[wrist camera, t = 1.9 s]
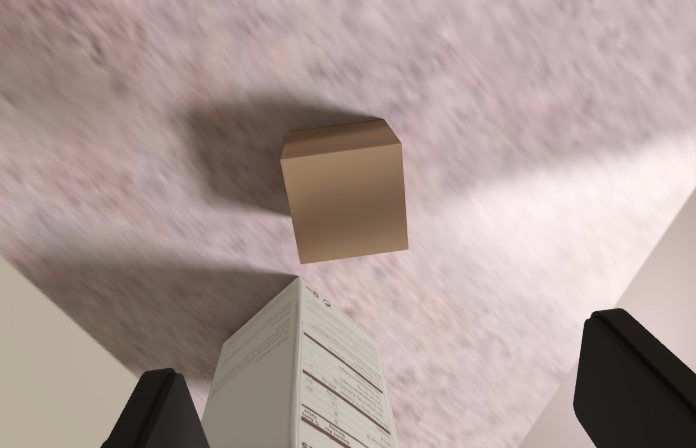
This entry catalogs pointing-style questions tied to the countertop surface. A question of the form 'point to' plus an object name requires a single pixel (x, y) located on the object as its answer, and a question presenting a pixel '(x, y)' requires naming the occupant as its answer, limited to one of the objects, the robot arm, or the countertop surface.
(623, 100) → the countertop surface
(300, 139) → the walnut cube
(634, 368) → the robot arm
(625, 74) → the countertop surface
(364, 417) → the supplement box
